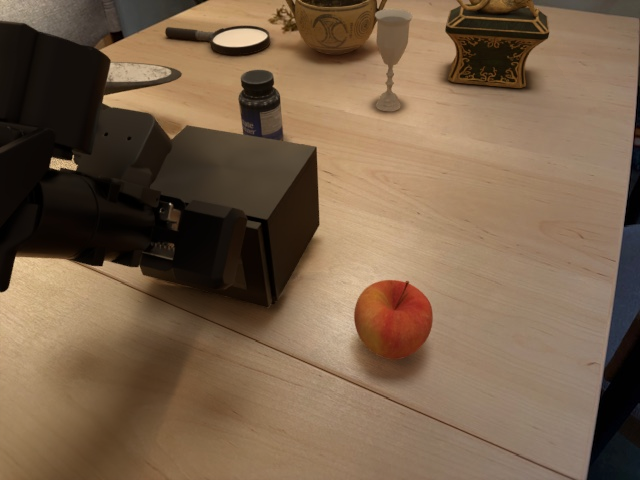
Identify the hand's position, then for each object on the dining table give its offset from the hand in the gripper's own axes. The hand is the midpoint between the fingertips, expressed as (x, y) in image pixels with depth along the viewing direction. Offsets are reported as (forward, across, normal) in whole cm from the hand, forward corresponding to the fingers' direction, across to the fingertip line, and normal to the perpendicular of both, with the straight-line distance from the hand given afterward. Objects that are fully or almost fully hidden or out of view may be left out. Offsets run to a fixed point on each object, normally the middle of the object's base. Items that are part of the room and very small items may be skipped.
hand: (183, 234), depth 50 cm
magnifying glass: (+57, +35, -40) cm, 78 cm away
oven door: (+5, 0, +7) cm, 9 cm away
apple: (+9, -20, +7) cm, 23 cm away
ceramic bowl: (+59, +9, -42) cm, 73 cm away
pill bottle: (+32, +8, -15) cm, 36 cm away
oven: (+14, 0, +2) cm, 14 cm away
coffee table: (+30, +34, -14) cm, 47 cm away
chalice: (+44, -7, -28) cm, 52 cm away
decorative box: (+56, -20, -39) cm, 71 cm away
